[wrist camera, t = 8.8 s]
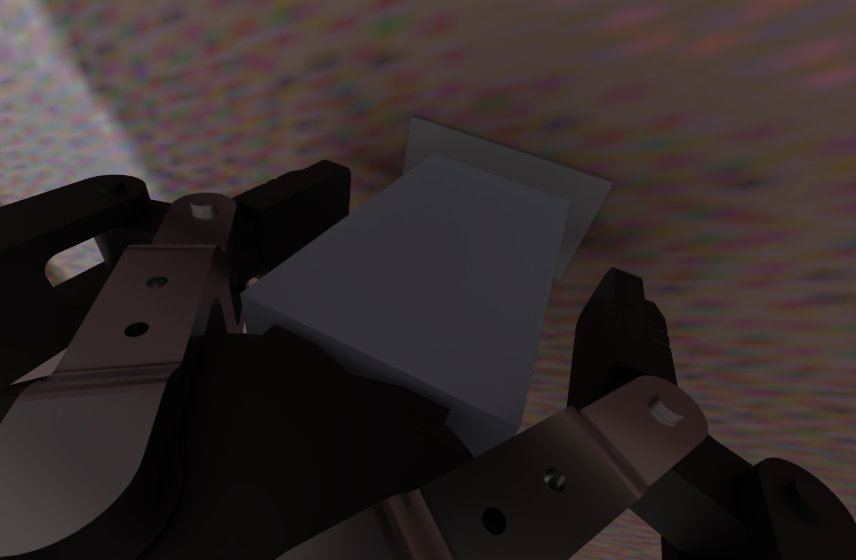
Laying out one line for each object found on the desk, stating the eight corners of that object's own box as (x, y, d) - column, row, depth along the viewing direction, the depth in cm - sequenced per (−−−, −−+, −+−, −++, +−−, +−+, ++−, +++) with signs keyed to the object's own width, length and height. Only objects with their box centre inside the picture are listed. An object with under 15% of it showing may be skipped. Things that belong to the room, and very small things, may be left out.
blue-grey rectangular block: (570, 200, 12) (519, 427, 5) (546, 249, 13) (480, 484, 7) (433, 153, 13) (240, 293, 6) (423, 202, 14) (252, 365, 7)
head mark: (613, 181, 11) (613, 183, 11) (560, 277, 14) (560, 280, 14) (413, 115, 13) (411, 116, 13) (397, 214, 15) (395, 216, 15)
